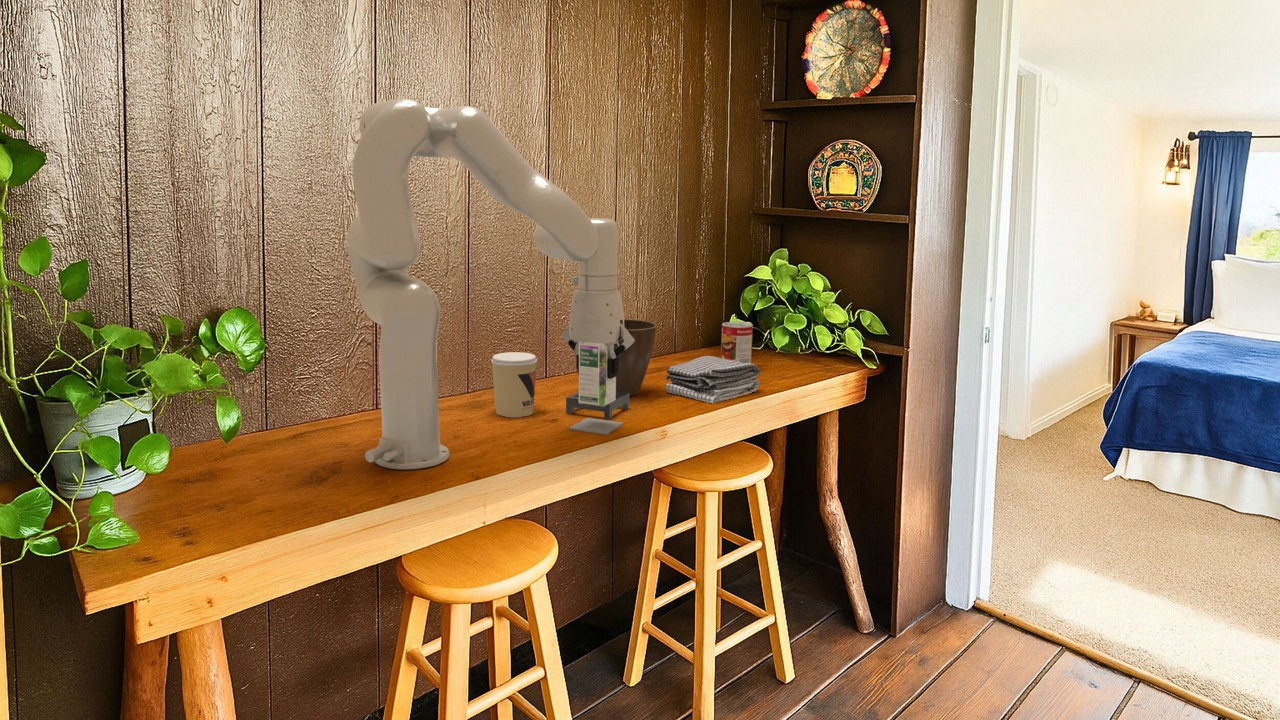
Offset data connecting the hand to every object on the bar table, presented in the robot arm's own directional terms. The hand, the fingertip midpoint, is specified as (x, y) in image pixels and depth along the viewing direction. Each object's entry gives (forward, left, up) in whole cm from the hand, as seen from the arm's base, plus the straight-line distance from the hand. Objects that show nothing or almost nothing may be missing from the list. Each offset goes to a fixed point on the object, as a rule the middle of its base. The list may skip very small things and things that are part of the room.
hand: (597, 374), depth 169 cm
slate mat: (0, 0, -11) cm, 11 cm away
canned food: (+64, -9, -11) cm, 65 cm away
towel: (+38, -11, -11) cm, 41 cm away
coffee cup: (+2, +20, -11) cm, 23 cm away
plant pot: (+28, +7, -11) cm, 31 cm away
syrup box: (0, 0, -6) cm, 6 cm away
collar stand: (+11, +5, -11) cm, 16 cm away
